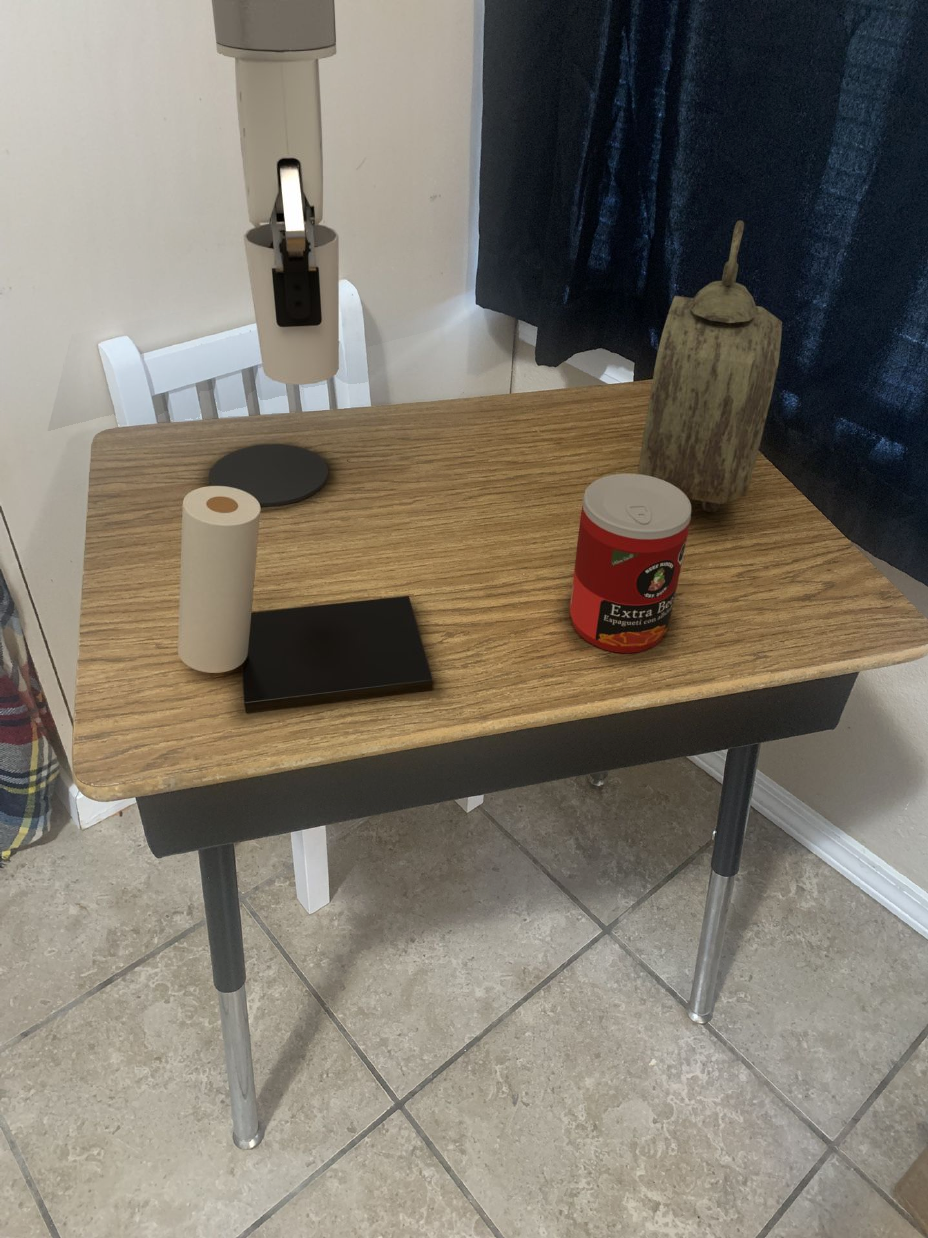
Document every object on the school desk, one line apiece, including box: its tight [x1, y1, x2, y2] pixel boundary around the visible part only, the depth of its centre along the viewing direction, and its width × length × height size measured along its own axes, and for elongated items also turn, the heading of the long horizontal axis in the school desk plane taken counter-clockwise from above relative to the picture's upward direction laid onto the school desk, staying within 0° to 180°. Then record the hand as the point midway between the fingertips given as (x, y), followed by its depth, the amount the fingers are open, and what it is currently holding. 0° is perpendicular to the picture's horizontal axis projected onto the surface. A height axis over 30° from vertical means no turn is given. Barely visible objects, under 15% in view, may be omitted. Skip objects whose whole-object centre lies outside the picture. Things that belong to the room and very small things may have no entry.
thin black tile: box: [241, 595, 434, 714], centre depth 71 cm, size 13×10×1 cm
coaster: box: [208, 443, 329, 508], centre depth 92 cm, size 11×11×1 cm
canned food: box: [569, 473, 692, 654], centre depth 72 cm, size 8×8×11 cm
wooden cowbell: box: [637, 220, 783, 514], centre depth 82 cm, size 14×9×25 cm, turn 164°
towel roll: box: [177, 485, 262, 674], centre depth 66 cm, size 12×5×5 cm
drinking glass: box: [243, 223, 340, 386], centre depth 72 cm, size 7×7×10 cm
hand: (296, 305), depth 72 cm, fingers closed on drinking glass, 5 cm apart
